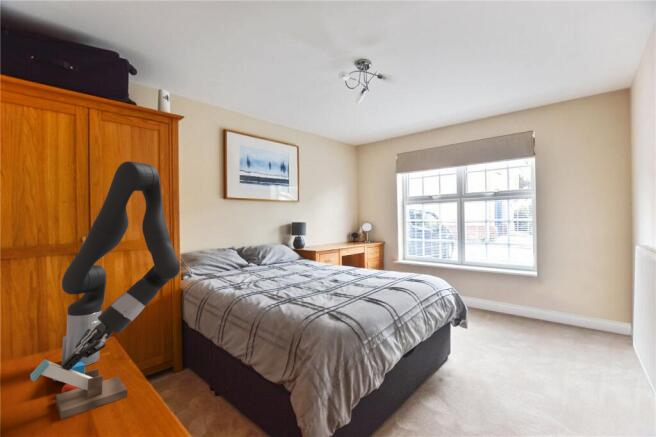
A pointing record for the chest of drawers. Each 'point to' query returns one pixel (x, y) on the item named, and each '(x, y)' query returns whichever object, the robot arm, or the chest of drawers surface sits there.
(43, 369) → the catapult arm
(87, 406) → the catapult stand
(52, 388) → the chest of drawers surface
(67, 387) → the lever
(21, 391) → the chest of drawers surface
